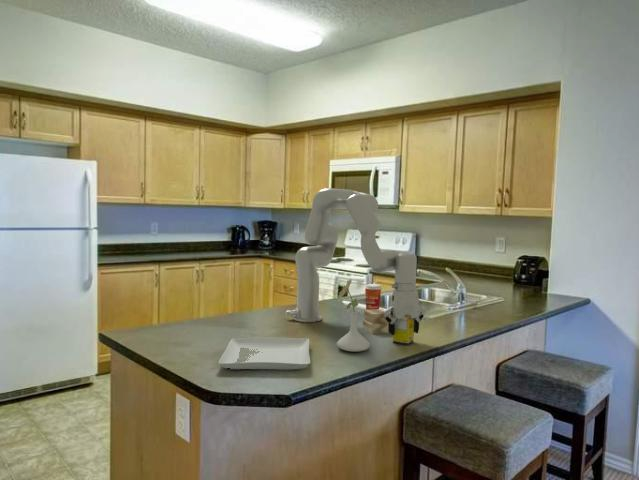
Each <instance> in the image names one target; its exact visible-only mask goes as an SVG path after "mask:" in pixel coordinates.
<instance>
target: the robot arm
mask: <svg viewBox="0 0 639 480" xmlns="http://www.w3.org/2000/svg"><path fill="white" fill-rule="evenodd" d="M311 203H312V205H311V210H310V215H309V219H308V222H307V224H306V229H305V232H304V240H305V242H306V244H308V245H310V246H303V247H301V248H299V249H298V250H297V252H296V253H295V255H294V256H295V257H294V259H295V266H296V276H297V277H296V284H297V285H296V286H297V287H296V307H294V309H292V310H285V316H292V319H293V320H294V321H296V322H299V323H300V322H302V323H315V322H316V321H317V322H320V321H322V320H323V316H322V315H320V314H319V311H320V310H319V303H320V275H319V272H318V271H317V268H324V267H325V268H326V267H327V266H329V265H330V263H331V262H332V260H333V257H334V254H335V250H336V248H337V244H338V239H339V230H338V229H337V226H336V224H333V223H330V220H331V210H344V211H348V213H349V215H350V217H351V219H352V220H353V222H354V225H355V226H356V228H357V230H358V231H359V233H360V248H361V252H362V255H363V257H364V259H365V261H366V262H367V264H368V266H369V267H370V268H371V270H372V271H374V272H375V273H385V272H392V271H394V283H393V284H391V288H392V289H394V290H392V293H391V299H390V305H389V307H388V308H386V309H383V310H384V311H383V312H382V314H383V316H384V318H385V319H386V321H387V322H388V323H389V325H388V331H389V333H388V334H390V335H392V336H393V335H394V334H395V324H394V322H395V321H396V319H404V317H405V315H411V319H413V318H414V334H418V333H419V330H420V323H421V322H422V319H423V318H424V316H425V314H426V312H427V309H425V308H423V307H422V306H420V298H419V292H418V291H419V290H416V288H417V285H416V283H417V262H418V261H417V260H418V258H417V255H416V253H412V252H411V253H410V252H400V251H397V250H384V251H383V250H381V248H380V247H379V245H378V242H377V240H376V235H377V234H376V233H377V232H378V231H380V228H381V225H382V224H381V222H380V221H379V218H378V217H377V215H376V213H377V212H378V209H379V202H378V199H377V198H376V197H375V196H374V195H372V194H370V193H365V192H360V191H357V190H353V189H345V188H341V189H340V188H334V187H333V188H331V187H328V188H323V189H320V190H318V191H317V192H316V193H315V194H314V196H313V199H312V202H311ZM389 312H390V315H391V316H390V317H388V313H389Z"/></svg>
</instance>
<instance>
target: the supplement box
mask: <svg viewBox="0 0 639 480" xmlns="http://www.w3.org/2000/svg"><path fill="white" fill-rule="evenodd" d="M394 324H395V334H394V335H392V343H393V344H397V345H398V344H399V345H405V346H410V345H411V344H412V343H413V342H414V338H415V337H414V335H415V332H414V318H413V319H411V315H405V317H404V319H396V321H395V322H394Z"/></svg>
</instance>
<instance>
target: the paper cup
mask: <svg viewBox="0 0 639 480" xmlns="http://www.w3.org/2000/svg"><path fill="white" fill-rule="evenodd" d="M364 289H365V310H373V309H380V306H381V305H380V304H381V295H382V294H381V293H382V289H383V288H382V286H381V284H377V283H367V284H366V285H365V287H364Z"/></svg>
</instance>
